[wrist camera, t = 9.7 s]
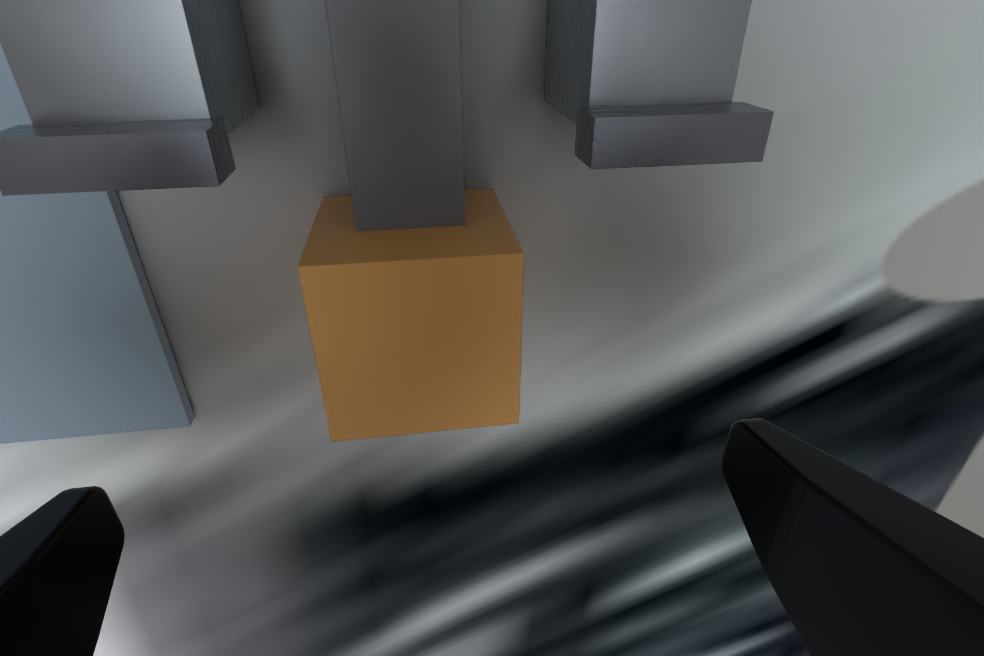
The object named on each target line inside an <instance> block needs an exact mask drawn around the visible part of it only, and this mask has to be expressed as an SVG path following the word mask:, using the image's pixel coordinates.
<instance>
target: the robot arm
mask: <svg viewBox="0 0 984 656" xmlns="http://www.w3.org/2000/svg"><path fill="white" fill-rule="evenodd" d="M722 471H723V475H724V477H725V480H726V482H727V485H728V487H729V489H730V492H731V494H732V497H733V499H734V501H735V504H736V506H737V509H738V511H739V513H740V516H741V518H742V520H743V523H744V525H745V528H746V530H747V532H748V535H749V537H750V540H751V542H752V544H753V547H754V549H755V551H756V554H757V556H758V558H759V560H760V563H761V565H762V567H763V569H764V571H765V573H766V575H767V577H768V579H769V581H770V582H771V584H772V586H773V588H774V590H775V592H776V594H777V595H778V597H779V599H780V601H781V603H782V605H783V606H784V608H785V610H786V612H787V614H788V616H789V617H790V619H791V621H792V623H793V625H794V627H795V628H796V630H797V632H798V634H799V636H800V638H801V639H802V641H803V643H804V645H805V647H806V649H807V650H808V652H809V654H810V656H984V538H983V537H981V536H979V535H977V534H975V533H973V532H971V531H970V530H968V529H966V528H964V527H962V526H960V525H958V524H957V523H955V522H953V521H951V520H949V519H947V518H946V517H944V516H942V515H940V514H938V513H936V512H934V511H933V510H931V509H929V508H927V507H925V506H923V505H921V504H920V503H918V502H916V501H914V500H912V499H910V498H908V497H907V496H905V495H903V494H901V493H899V492H897V491H895V490H894V489H892V488H890V487H888V486H886V485H884V484H883V483H881V482H879V481H877V480H875V479H873V478H871V477H870V476H868V475H866V474H864V473H862V472H860V471H858V470H857V469H855V468H853V467H851V466H849V465H847V464H845V463H844V462H842V461H840V460H838V459H836V458H834V457H832V456H831V455H829V454H827V453H825V452H823V451H821V450H820V449H818V448H816V447H814V446H812V445H810V444H808V443H807V442H805V441H803V440H801V439H799V438H797V437H795V436H794V435H792V434H790V433H788V432H786V431H784V430H782V429H781V428H779V427H777V426H775V425H773V424H771V423H769V422H768V421H766V420H763V419H747V420H738V421H736V422H734V423H733V425H732V426H731V429H730V432H729V436H728V440H727V443H726V447H725V451H724V454H723V458H722ZM123 545H124V529H123V526H122V523H121V521H120V519H119V517H118V515H117V513H116V511H115V509H114V507H113V505H112V503H111V501H110V499H109V497H108V495H107V493H106V492H105V490H103V489H102V488H100V487H96V486H92V487H82V488H72V489H68V490H65V491H63V492H61V493H59V494H58V495H57V496H55V497H54V498H52V499H51V500H50V501H48V502H47V503H46V504H44V505H43V506H41V507H40V508H39V509H37V510H36V511H35V512H33V513H32V514H30V515H29V516H28V517H26V518H25V519H23V520H22V521H21V522H19V523H18V524H17V525H15V526H14V527H12V528H11V529H10V530H8V531H7V532H6V533H4V534H3V535H1V536H0V656H93V654H94V651H95V647H96V644H97V641H98V637H99V634H100V630H101V626H102V622H103V619H104V615H105V611H106V608H107V604H108V600H109V597H110V593H111V589H112V586H113V582H114V578H115V575H116V571H117V567H118V564H119V560H120V556H121V552H122V549H123Z"/></svg>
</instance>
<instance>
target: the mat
mask: <svg viewBox="0 0 984 656" xmlns="http://www.w3.org/2000/svg"><path fill="white" fill-rule="evenodd" d="M25 124H32V122H31V119H30V117H29V114H28V112H27V109H26V107H25V104H24V102H23V99H22V97H21V94H20V92H19V89H18V87H17V84H16V82H15V79H14V77H13V74H12V72H11V69H10V67H9V64H8V62H7V59H6V57H5V54H4V52H3V49H2V47H1V44H0V131H2V130H4V129H7V128H10V127H13V126H16V125H25ZM194 417H195V416H194V413H193V410H192V407H191V405H190V402H189V399H188V396H187V393H186V390H185V387H184V384H183V382H182V379H181V376H180V373H179V370H178V367H177V364H176V362H175V359H174V356H173V353H172V350H171V347H170V344H169V341H168V339H167V336H166V333H165V330H164V327H163V324H162V321H161V319H160V316H159V313H158V310H157V307H156V304H155V301H154V298H153V296H152V293H151V290H150V287H149V284H148V281H147V278H146V275H145V273H144V270H143V267H142V264H141V261H140V258H139V255H138V253H137V250H136V247H135V244H134V241H133V238H132V235H131V232H130V230H129V227H128V224H127V221H126V218H125V215H124V212H123V210H122V207H121V204H120V201H119V198H118V195H117V192H116V191H99V192H77V193H55V194H33V195H10V196H3V195H2V193H1V191H0V444H1V443H12V442H22V441H33V440H44V439H55V438H66V437H76V436H87V435H98V434H109V433H119V432H130V431H141V430H152V429H163V428H173V427H184V426H190V425H191V423H192V421H193V419H194Z"/></svg>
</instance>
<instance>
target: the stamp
mask: <svg viewBox="0 0 984 656" xmlns="http://www.w3.org/2000/svg"><path fill="white" fill-rule="evenodd" d="M325 2H326V9H327V17H328V24H329V32H330V39H331V47H332V54H333V62H334V69H335V77H336V84H337V92H338V99H339V107H340V115H341V122H342V130H343V137H344V145H345V152H346V160H347V167H348V175H349V182H350V190H351V196H331V197H323V199H322V201H321V204H320V207H319V210H318V212H317V215H316V218H315V221H314V223H313V226H312V229H311V232H310V234H309V237H308V240H307V243H306V245H305V248H304V251H303V254H302V256H301V259H300V262H299V265H298V271H299V276H300V282H301V287H302V292H303V297H304V302H305V307H306V312H307V318H308V323H309V328H310V333H311V338H312V343H313V348H314V354H315V359H316V364H317V369H318V374H319V379H320V384H321V390H322V395H323V400H324V405H325V410H326V415H327V420H328V426H329V431H330V436H331V441H332V442H333V441H343V440H353V439H363V438H374V437H384V436H394V435H404V434H414V433H424V432H435V431H445V430H455V429H465V428H475V427H486V426H496V425H506V424H516V423H519V411H520V373H521V335H522V297H523V258H524V253H523V251H522V249H521V247H520V245H519V243H518V241H517V239H516V237H515V235H514V232H513V230H512V228H511V226H510V224H509V222H508V220H507V218H506V216H505V214H504V212H503V210H502V208H501V206H500V204H499V202H498V200H497V198H496V196H495V194H494V192H493V190H492V189H480V190H464V157H463V122H462V88H461V54H460V19H459V0H325Z"/></svg>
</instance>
